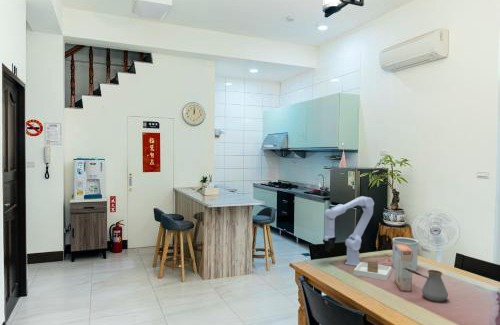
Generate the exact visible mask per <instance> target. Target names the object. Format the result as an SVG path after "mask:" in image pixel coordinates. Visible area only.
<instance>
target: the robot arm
mask: <svg viewBox="0 0 500 325" xmlns="http://www.w3.org/2000/svg"><path fill="white" fill-rule="evenodd" d="M374 205H375V201H374V200H373V198H372V197H368V196H364V195H361V196H358V197H356V198H354V199H353V200H350V201H349V202H347V203H345V204H342V203H339V204H337V205H336V206H334V207H333V206H332V207H331V208H327V209H325V211H324V213H323V216H324V217H325V221H324V222H325V226H324V229H325V230H324V234H323V237H324V238H323V239H322V242H323V244H324V247H325V252H330V251H331V249H332V250H333V249H334V247H335V243H336V240H337V237H336V236H335V235H336V233H335V228H336V226H335V224H336V222H335V219H336V217H338V216H340V215H343V214H345V213H346V211H347V210H349V209H352V208H354V207H357V206H359V207H361V209H362V210H363V213H362V214H361V216H360V219H359V221H358V222H357V224H356V226H355V228H354V231H353V233H352V234H350V235H349V236H348V238H346V239H345V242H344V244H345V246H346V262H344V264H345V265H349V266H356V267H357V266H358V264H359V263H360V262H361V261H360V252H359V250H360V249H361V244H362V236H363V235H364V232H365V230H366V228H367V226H368V224H369V223H370V220H371V218H372V216H373V214H374V207H375V206H374Z"/></svg>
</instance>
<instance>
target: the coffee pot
mask: <svg viewBox="0 0 500 325" xmlns="http://www.w3.org/2000/svg"><path fill="white" fill-rule="evenodd" d="M405 269H406V270H408V271H410V272H412V274H415V275H417V276H420V277H422V278H425V279H426V280H425V282H424V285H423V286H422V289H421V293H422V295H423V296H424V297H425V298H426V299H427V300H430V301H432V302H444V301H445V300H446V299H448V297H449V293H448V290H447V289H446V286H445V284H444V282H443V281H444V280H443V279H442V275H443V271H440V270H437V269H436V270H435V269H428V270H427V274H428V276H426V275H424V274H422V273H419V272H417V270H416V271H413V270H410V269H407V268H405ZM403 270H404V269H403ZM406 270H405V271H406ZM403 272H404V271H403Z"/></svg>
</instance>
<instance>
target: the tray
mask: <svg viewBox="0 0 500 325" xmlns="http://www.w3.org/2000/svg"><path fill="white" fill-rule="evenodd" d="M392 268H393V266H390V265H382V264H378V273H374V272H368V262H361V261H360V263H359V264H358V266H356V267H355V268H354V269H353V276H357V277H364V278H369V279H373V280H374V279H375V280H381V281H388V278H389V277H390V275H391V273H392V270H393V269H392Z"/></svg>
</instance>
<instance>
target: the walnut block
mask: <svg viewBox="0 0 500 325" xmlns="http://www.w3.org/2000/svg"><path fill="white" fill-rule="evenodd" d="M367 263H368V272H374V273H378V265H379V263H378V262H377V261H376V260H367Z"/></svg>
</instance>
